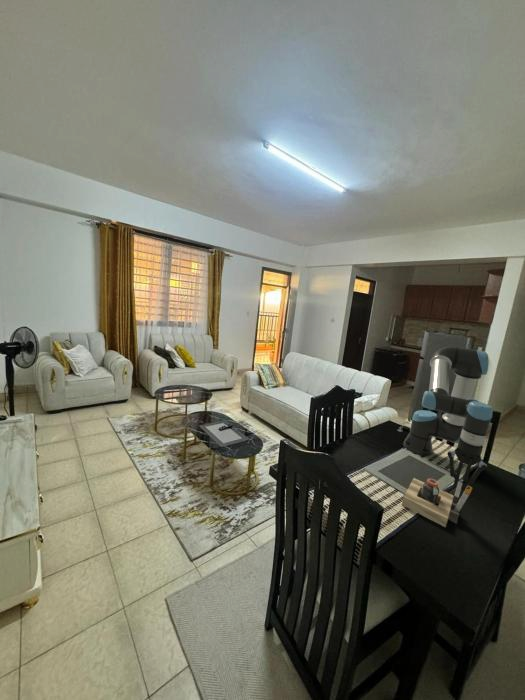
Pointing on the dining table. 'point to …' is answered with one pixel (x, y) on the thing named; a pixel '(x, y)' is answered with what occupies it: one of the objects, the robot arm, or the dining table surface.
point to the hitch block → (430, 504)
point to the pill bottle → (430, 491)
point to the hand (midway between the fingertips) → (456, 495)
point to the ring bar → (463, 499)
